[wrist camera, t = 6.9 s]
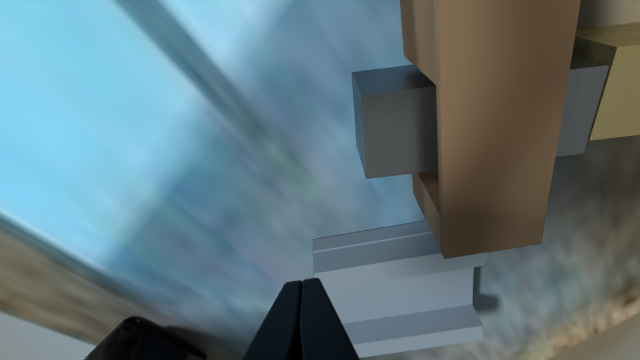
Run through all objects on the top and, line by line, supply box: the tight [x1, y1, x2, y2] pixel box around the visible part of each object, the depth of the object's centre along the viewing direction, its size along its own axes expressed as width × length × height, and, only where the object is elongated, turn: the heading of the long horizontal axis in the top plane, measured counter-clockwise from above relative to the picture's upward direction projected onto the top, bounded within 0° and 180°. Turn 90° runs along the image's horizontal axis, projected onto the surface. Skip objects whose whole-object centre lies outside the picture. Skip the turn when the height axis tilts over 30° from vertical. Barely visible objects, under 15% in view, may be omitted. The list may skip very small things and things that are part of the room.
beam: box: [400, 0, 581, 259], centre depth 14 cm, size 4×12×5 cm, turn 11°
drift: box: [352, 53, 610, 179], centre depth 16 cm, size 9×4×4 cm, turn 97°
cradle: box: [313, 221, 487, 358], centre depth 22 cm, size 9×8×3 cm
